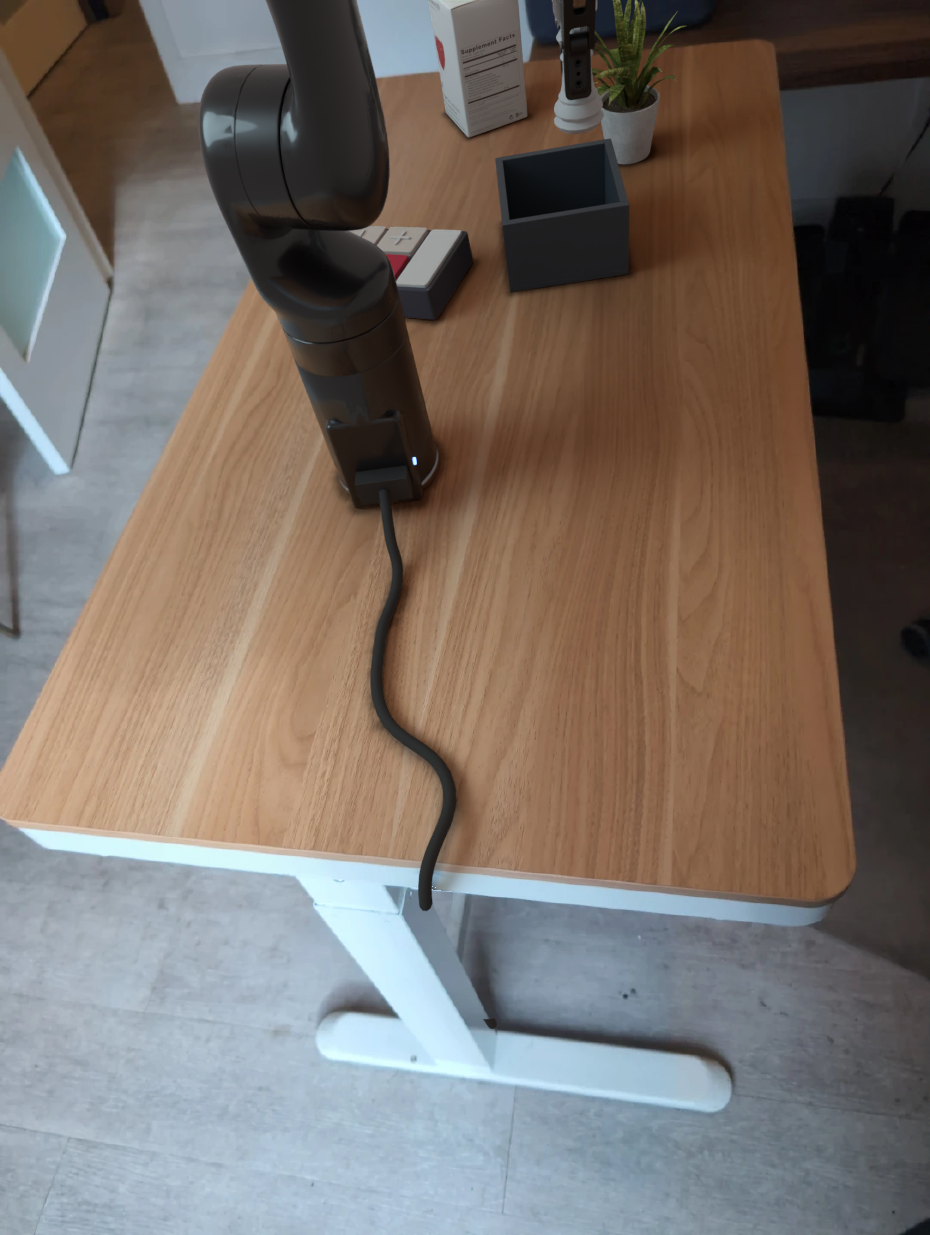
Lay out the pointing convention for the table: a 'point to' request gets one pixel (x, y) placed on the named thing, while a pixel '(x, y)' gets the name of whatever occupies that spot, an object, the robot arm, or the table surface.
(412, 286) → the calculator
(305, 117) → the robot arm
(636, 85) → the house plant
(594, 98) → the rook chess piece
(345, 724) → the table surface
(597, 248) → the bin
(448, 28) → the white product box
